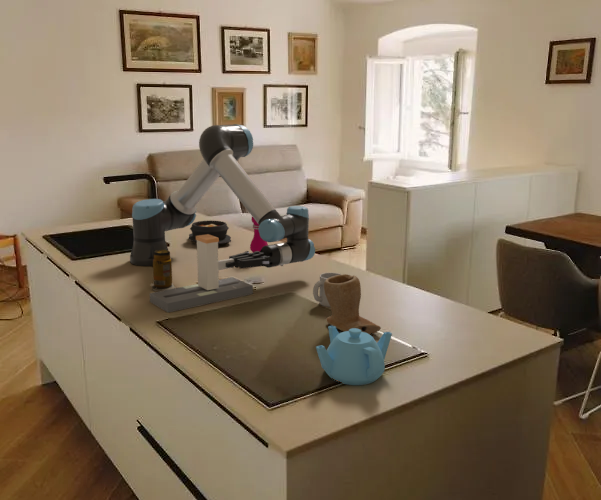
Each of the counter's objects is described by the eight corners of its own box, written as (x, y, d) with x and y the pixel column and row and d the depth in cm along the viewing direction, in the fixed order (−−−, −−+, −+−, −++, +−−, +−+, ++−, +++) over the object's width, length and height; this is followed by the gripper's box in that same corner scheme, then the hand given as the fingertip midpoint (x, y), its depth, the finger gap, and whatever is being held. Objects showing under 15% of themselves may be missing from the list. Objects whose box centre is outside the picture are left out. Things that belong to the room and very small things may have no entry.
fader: (209, 283, 192) (208, 234, 188) (219, 288, 187) (218, 237, 183) (197, 285, 189) (195, 235, 185) (207, 290, 184) (206, 239, 180)
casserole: (241, 245, 258) (241, 226, 256) (201, 250, 249) (201, 230, 247) (217, 234, 279) (216, 217, 277) (179, 238, 269) (178, 220, 267)
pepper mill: (269, 256, 240) (269, 207, 236) (266, 260, 233) (266, 210, 229) (251, 255, 241) (251, 206, 236) (248, 259, 234) (248, 209, 229)
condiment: (172, 282, 203) (170, 248, 200) (175, 289, 195) (174, 254, 193) (150, 284, 201) (148, 249, 198) (153, 291, 193) (151, 255, 190)
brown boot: (315, 324, 167) (316, 272, 163) (351, 317, 172) (352, 267, 168) (343, 342, 154) (345, 287, 150) (381, 335, 159) (384, 281, 155)
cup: (347, 305, 183) (348, 277, 180) (319, 310, 178) (319, 281, 176) (334, 298, 189) (335, 271, 187) (307, 303, 184) (307, 275, 182)
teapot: (311, 383, 131) (312, 337, 128) (328, 356, 145) (329, 315, 142) (379, 394, 127) (382, 346, 124) (390, 365, 141) (393, 322, 138)
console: (232, 285, 201) (232, 276, 200) (252, 293, 192) (252, 285, 191) (149, 301, 183) (149, 292, 182) (167, 312, 174) (167, 303, 173)
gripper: (286, 270, 198) (226, 282, 183) (263, 261, 207) (204, 272, 193) (287, 248, 196) (226, 258, 181) (263, 240, 206) (204, 250, 191)
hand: (215, 265), depth 187 cm, fingers closed
